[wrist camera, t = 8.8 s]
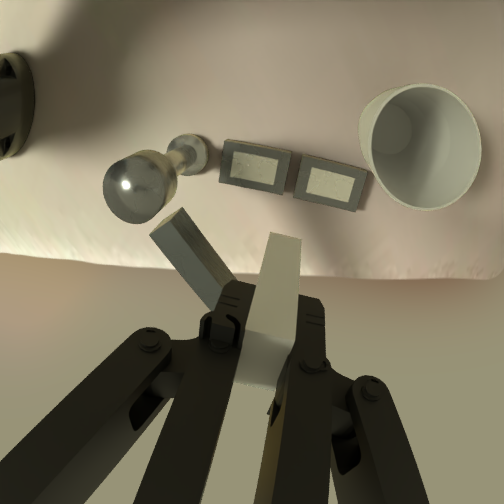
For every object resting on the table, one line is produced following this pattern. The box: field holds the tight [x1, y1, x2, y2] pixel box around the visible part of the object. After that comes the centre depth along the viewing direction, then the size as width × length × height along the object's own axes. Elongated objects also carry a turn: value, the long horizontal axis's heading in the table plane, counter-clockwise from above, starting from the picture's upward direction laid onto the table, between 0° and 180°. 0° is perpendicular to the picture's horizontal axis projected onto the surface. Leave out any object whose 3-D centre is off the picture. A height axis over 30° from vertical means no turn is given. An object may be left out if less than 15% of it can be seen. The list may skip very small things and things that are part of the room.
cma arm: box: [103, 150, 238, 311], centre depth 22 cm, size 20×4×3 cm, turn 33°
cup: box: [358, 83, 482, 211], centre depth 20 cm, size 8×8×10 cm
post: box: [164, 134, 209, 176], centre depth 24 cm, size 4×4×8 cm
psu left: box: [219, 139, 292, 195], centre depth 27 cm, size 6×4×1 cm, turn 81°
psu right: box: [293, 154, 367, 212], centre depth 27 cm, size 6×4×1 cm, turn 81°
